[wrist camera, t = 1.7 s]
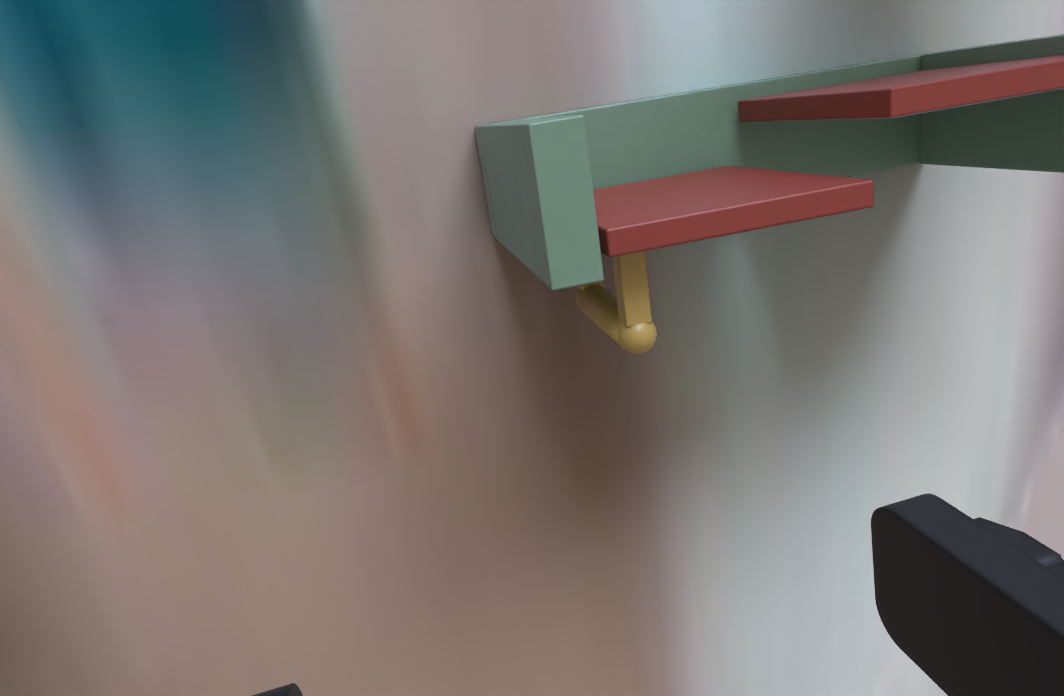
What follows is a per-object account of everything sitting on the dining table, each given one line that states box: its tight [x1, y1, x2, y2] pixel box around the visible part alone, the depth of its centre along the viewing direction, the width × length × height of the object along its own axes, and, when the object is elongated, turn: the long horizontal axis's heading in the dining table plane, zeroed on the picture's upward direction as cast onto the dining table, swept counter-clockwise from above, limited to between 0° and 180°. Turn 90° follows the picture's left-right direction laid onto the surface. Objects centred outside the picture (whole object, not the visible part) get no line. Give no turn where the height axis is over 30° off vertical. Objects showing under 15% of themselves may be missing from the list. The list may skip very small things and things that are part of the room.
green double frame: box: [474, 34, 1064, 291], centre depth 26 cm, size 4×20×11 cm, turn 99°
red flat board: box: [576, 165, 874, 354], centre depth 25 cm, size 4×8×9 cm, turn 99°
